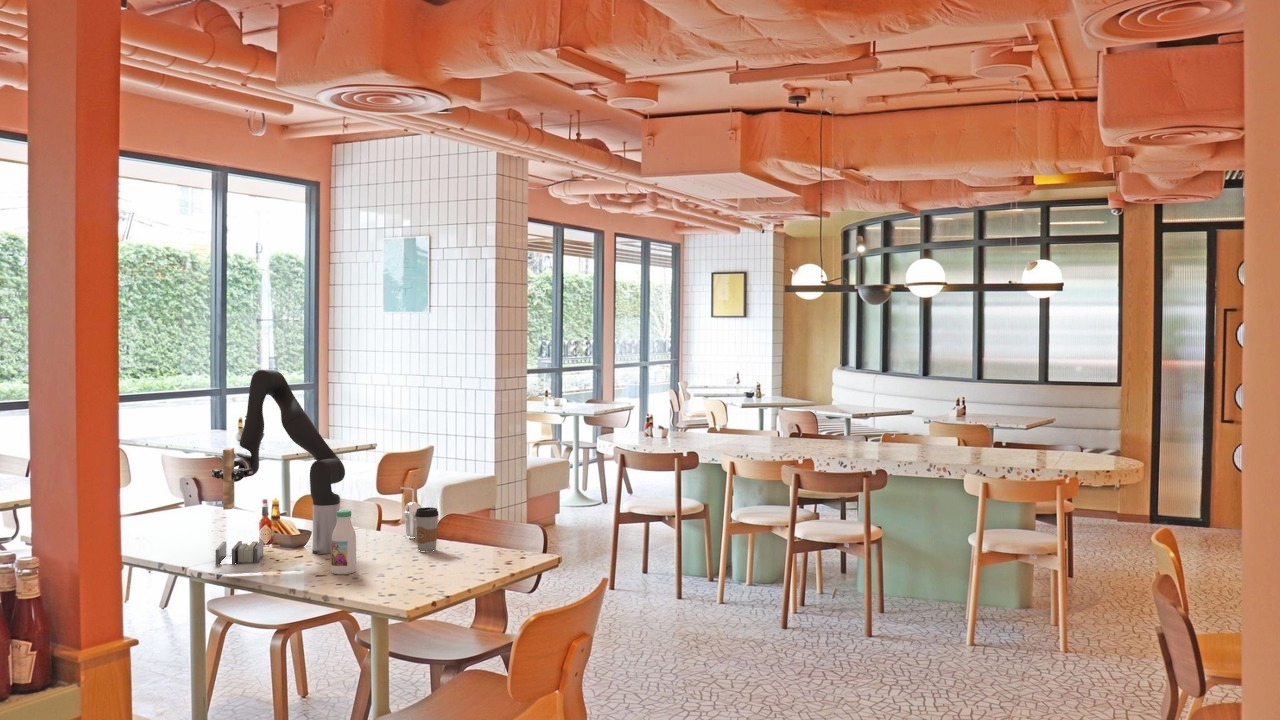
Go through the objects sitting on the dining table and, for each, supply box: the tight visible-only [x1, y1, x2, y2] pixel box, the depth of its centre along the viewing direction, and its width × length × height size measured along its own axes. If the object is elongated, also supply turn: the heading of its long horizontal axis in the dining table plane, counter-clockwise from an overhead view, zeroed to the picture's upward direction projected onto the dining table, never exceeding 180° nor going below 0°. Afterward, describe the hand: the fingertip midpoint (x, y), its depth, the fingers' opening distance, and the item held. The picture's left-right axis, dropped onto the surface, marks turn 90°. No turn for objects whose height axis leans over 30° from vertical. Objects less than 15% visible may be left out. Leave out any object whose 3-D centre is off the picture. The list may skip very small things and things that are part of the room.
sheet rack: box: [215, 539, 264, 565], centre depth 328 cm, size 13×14×6 cm
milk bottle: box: [330, 509, 357, 575], centre depth 315 cm, size 8×8×20 cm
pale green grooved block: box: [238, 540, 259, 562], centre depth 329 cm, size 5×10×5 cm, turn 14°
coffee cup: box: [415, 507, 439, 552], centre depth 350 cm, size 8×8×15 cm
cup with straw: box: [398, 486, 423, 540], centre depth 373 cm, size 8×9×20 cm
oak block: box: [222, 447, 235, 511], centre depth 327 cm, size 2×6×20 cm, turn 14°
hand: (227, 476), depth 324 cm, fingers closed on oak block, 2 cm apart
